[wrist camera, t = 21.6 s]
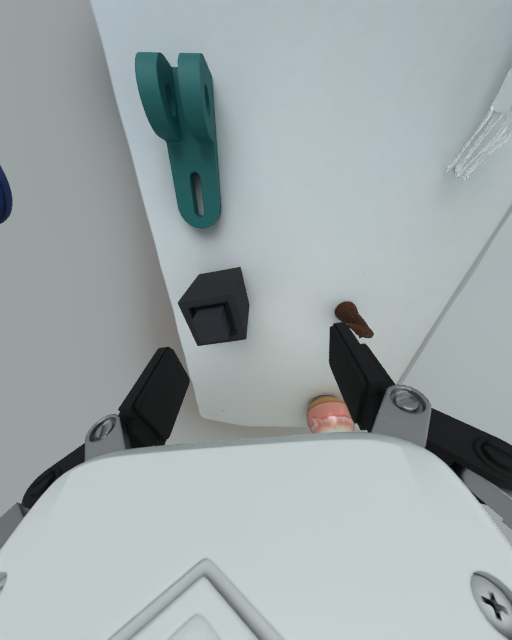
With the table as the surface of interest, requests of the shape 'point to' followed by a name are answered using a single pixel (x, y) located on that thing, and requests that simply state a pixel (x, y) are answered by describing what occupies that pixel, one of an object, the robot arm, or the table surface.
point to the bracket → (184, 127)
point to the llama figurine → (506, 101)
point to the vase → (329, 416)
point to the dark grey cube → (212, 324)
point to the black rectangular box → (218, 300)
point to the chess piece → (353, 319)
